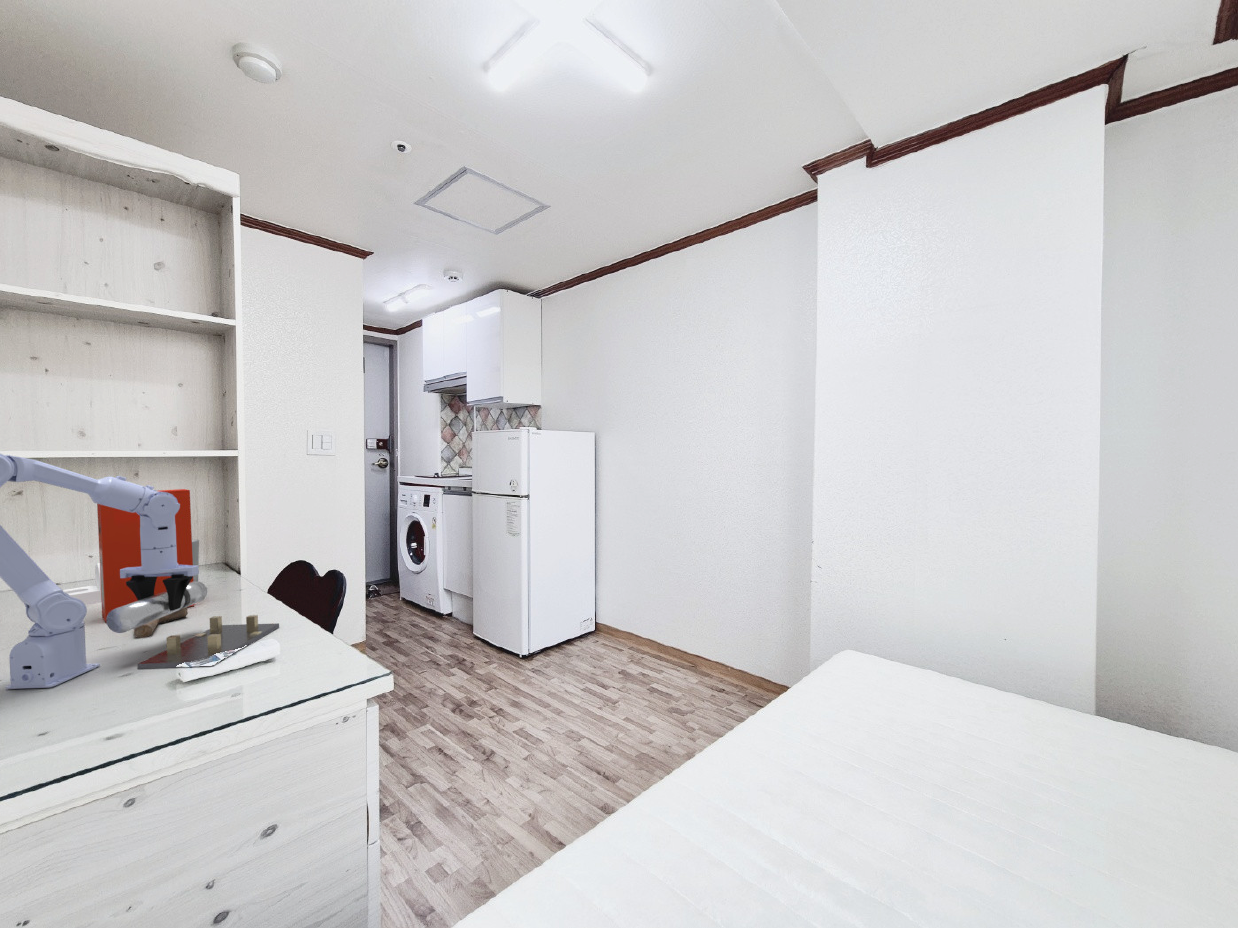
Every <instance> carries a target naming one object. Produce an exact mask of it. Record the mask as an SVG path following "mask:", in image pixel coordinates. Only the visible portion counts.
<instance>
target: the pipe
mask: <svg viewBox="0 0 1238 928" xmlns="http://www.w3.org/2000/svg"><path fill="white" fill-rule="evenodd" d="M188 613H189V612H188V607H186V608H183V609H181V610H178V611H176V612H173V613H171V614H168V615H166V616H164V617H161V618H159V619H156V620H154V621H151V622H149V623H146V624H144V625H141V626H139V627H137V628H134V629H133V630H134V631H133V634H134V636H135V638H138V639H141V638H147V637H150V636H151V635H152V634H153V632H154V630H155V629H156V628H157V625H159V624H163V623H168V622H170V621H175V620H178V619H182V618H186V617H187V616H188Z"/></svg>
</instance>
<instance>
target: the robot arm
mask: <svg viewBox="0 0 1238 928" xmlns="http://www.w3.org/2000/svg"><path fill="white" fill-rule="evenodd" d="M31 481H34V482H39V483H43V484H47V485H51V486H56V487H60V488H63V489H66V490H72V491H75V492H79V493H84V494H86V495H88V496H89V497H90V499H91V501H92V502H93V503H94V504H96V505H97V504H101V505H104V506H108V507H112V508H116V509H120V510H123V511H127V512H131V513H134V512H136V513H137V514H138V515H140V542H141V564H142V566H141V567H127V568H123V569H120V578H128V577H131V579H130V580H129V581H127V582H126V585H127V586H128V587H129V588H130V589H131V590H132V592H133V593H134V594H135V596H136V598H137V600H138V601H139V600H142V599H144V598H147V597H150V596H153V595H154V589H155V583H156V580H157V577H158V576H171V578H167V579H164V580H163V583H164V585H165V587H166V590H167V594H168V603H169V609H170V611H173V610H176V609H179V608H180V607H181V603H182V599H183V596H184V593H185V590H186V588H187V586H188V584H189V583H190V581H191V579H192V578H193V576H194V575H197V574H198V575H199V574H200V571H199V570H200V569H199V568H200V567H199V566H198V565H179V564H178V563H177V548H176V525H175V514H176V513H177V512H178V510H179V508H180V504H178V501H177V499H176V497H174V496H173V495H172V494H170V493H167V492H159V491H158V490H156V489H154V486H152V485H149V484H148V485H146V486H144V485H141V484H137V483H134V482H131V481H129V480H128V481H127V477H125V476H122V475H117V476H115V477H114V476H105V477H102V478H98V479H97V478H94V477H90V476H87V475H84V474H81V473H78V472H74V471H71V470H69V469H65V468H62V467H59V466H56V465H54V464H53V465H52V464H49V463H46V462H43V461H40V460H36V459H33V458H27V457H21V456H16V455H10V454H9V455H8V454H7V455H5V454H2V453H1V452H0V488H1V487H3V486H4V485H5V484H6V483H7V482H11V483H12V482H13V483H19V482H23V483H24V482H31ZM28 554H29V553H28ZM28 554H27V552H26V551H25V550H24V549H23V548H22V547H21V546H20V545H19V544H18V543H17V541H16V540H15V539H14V538H13V537H12V536H11V535H10V534H9V533H8V532H7V531H6V530H5V528H4V527H3V526H2V525H1V524H0V579H1V580H2V581H3V582H4V583H5V585H7V586H8V587H9V588H10V589H11V590H12V591H13V592H14V593H15V594H16V596H17V597H18V599H19V600H20V601H21V602H22V603H23V605H24V607H25V614H26V617H27V618H28V620H30V621H31V622H32V623H34V624H33V625H32V626H31V628H30V629H29V630H28V632H27V633H28V635H27V637H26V638H25V639H24V640H22V641H20V642H18V643H16V644H15V645H14V646H13V647H12V648H11V650H10V652H9V659H8V661H9V675H10V677H9V680H10V684H8V685H6V686H5V689H6V690H15V689H16V690H18V689H42V688H45V689H46V688H47V689H48V688H54V687H55V686H57V685H60V684H63V683H64V682H66V681H69V680H71V679H74V678H76V677H78V676H81V675H83V674H84V673H86V672H89V671H91V670H93V669H96V668H99V667H100V666H101V663H99V662H98V663H97V662H96V663H87V652H86V651H87V650H86V629H85V628H86V627H85V621H84V619H85V618H86V616H87V612H88V609H87V605H85V604H84V602H83V601H81V600H79V599H77V598H74V597H71V596H70V595H68V594H67V593H65V592H64V591H63V590H64V589H62V588H61V587H60V586H59V585H57V584H56V583H55V582H54V581H53V580H52V579H50V577H49V576H48V575H47V574H46V573H45V572H44V570H42V568H40V566H39V565H38V564H37V563H36V561H34V560H33V559H32V558H31V556H30V555H28Z"/></svg>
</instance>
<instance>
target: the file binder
mask: <svg viewBox="0 0 1238 928" xmlns="http://www.w3.org/2000/svg"><path fill="white" fill-rule="evenodd" d="M157 491H159V492H167V493H170V494H172V495H173V496H174V497H176V499H177V501H178V504H180V508H179V510H178V512H177V513H176V514H175V525H176V548H177V563H178V564H179V565H193V557H192V540H193V536H192V535H193V534H192V510H191V490H190V489H188V488H187V489H185V488H182V489H181V488H179V489H178V488H177V489H161V490H159V489H158V490H157ZM96 505H97V506H96V507H97V512H96V513H97V527H98V528H97V533H98V551H99V552H98V554H99V556H98V557H99V563H100V579H101V601H102V602H101V616H102V620H103V621H104V622H105V623H106V618H107V615H108V614H109V612H110V611H112V610H113V609H116V608H119V607H121V606H124V605H127V604H130V603H133V602H136V601H138V600H137V598H136V596H135V594H134V593H133V592H132V590H131V589H130V588H129V587H128V586H127V585H126V582H127V581H129V580H130V579H131V577H128V578H120V569H123V568H127V567H141V566H142V564H141V542H140V515H138V514H137V513H136V512H134V513H131V512H127V511H123V510H120V509H116V508H112V507H108V506H104V505H101V504H97V503H96ZM167 578H171V576H158V577H157V580H156V583H155V589H154V595H156V594H159V593H162V592H164V591H167V590H166V587H165V585H164V583H163V580H164V579H167ZM190 582H193V578H192V579H191V581H190ZM194 606H195V604H193V605H190V606H188V607H187V608H190V607H194ZM106 624H107V623H106Z"/></svg>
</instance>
